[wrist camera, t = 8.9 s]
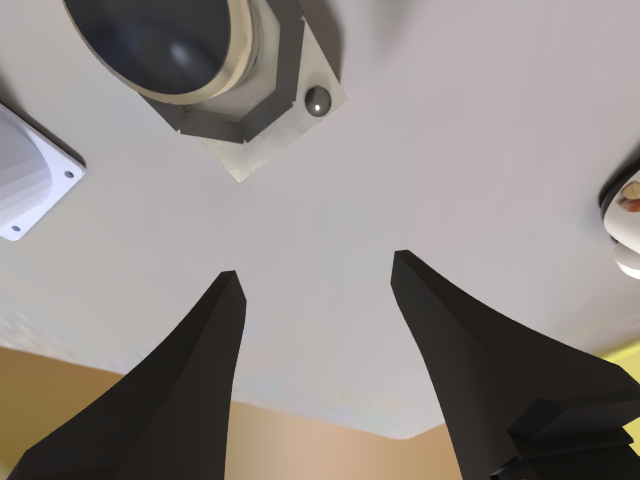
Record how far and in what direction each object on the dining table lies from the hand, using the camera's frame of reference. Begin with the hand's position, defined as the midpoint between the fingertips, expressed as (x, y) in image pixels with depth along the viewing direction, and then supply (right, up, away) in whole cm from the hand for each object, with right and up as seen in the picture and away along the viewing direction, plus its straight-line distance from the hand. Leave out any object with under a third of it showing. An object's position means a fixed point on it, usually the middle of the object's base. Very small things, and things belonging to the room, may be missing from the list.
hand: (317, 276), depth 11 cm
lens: (-5, +11, 0) cm, 12 cm away
